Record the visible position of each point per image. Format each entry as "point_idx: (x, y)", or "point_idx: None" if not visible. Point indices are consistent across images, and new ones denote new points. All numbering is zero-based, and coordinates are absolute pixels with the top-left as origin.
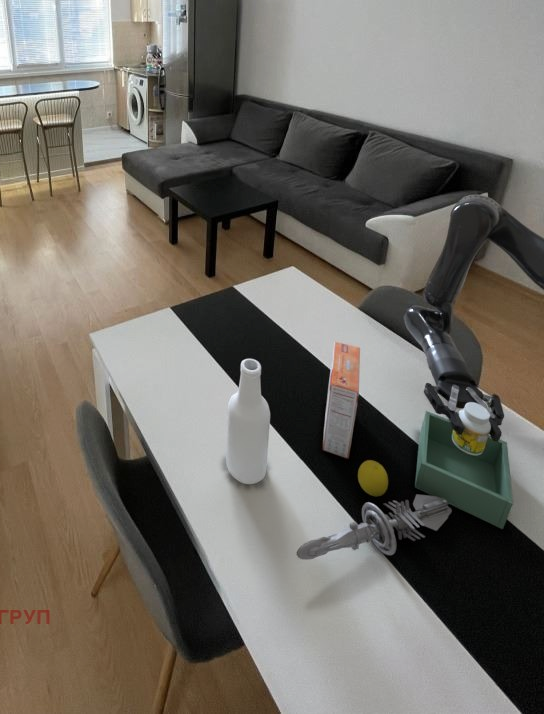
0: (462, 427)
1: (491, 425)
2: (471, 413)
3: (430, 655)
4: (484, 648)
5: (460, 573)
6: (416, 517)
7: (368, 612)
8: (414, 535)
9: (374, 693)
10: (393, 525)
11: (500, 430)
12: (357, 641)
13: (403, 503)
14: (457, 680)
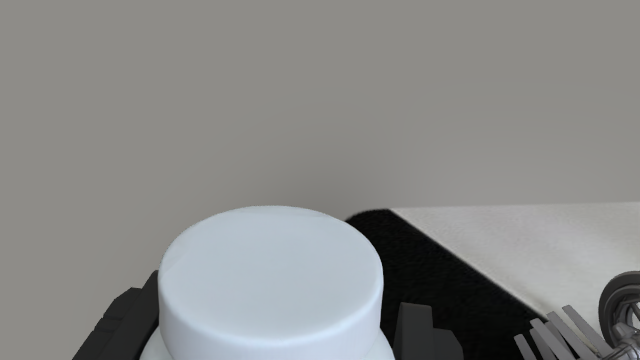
0: (409, 305)
1: (155, 325)
2: (353, 236)
3: (505, 238)
4: (407, 247)
5: None
6: (552, 344)
7: (620, 273)
8: (543, 346)
9: (593, 209)
10: (614, 349)
11: (106, 313)
12: (631, 245)
13: (608, 355)
14: (466, 221)
